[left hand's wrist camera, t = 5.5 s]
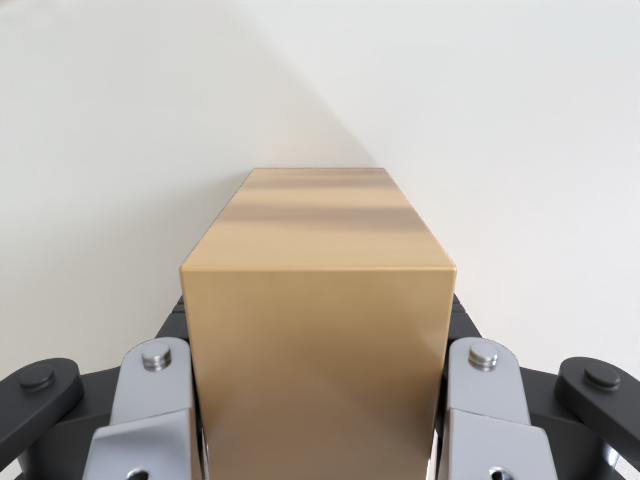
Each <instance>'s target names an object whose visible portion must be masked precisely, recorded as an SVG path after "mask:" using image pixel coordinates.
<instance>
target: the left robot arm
mask: <svg viewBox="0 0 640 480" xmlns="http://www.w3.org/2000/svg"><path fill="white" fill-rule="evenodd" d="M435 429H436V432H437V439H436V450H435V465H434V480H626V479H625V478H624V477H623V476H621V475H620V474H619V473H618V472H617V471H616V470H615V469H614V468H615V465H616V463H617V460H618V458H619V455H621V456H622V457H623V458H624V459H625V460H626V461H628V462H629V463H630V464H631V465H632V466H633V467H634V468H635V469H637V470H638V471H639V472H640V381H638V380H637V379H635V378H634V377H632V376H631V375H629V374H628V373H626V372H625V371H623V370H622V369H620V368H618V367H616V366H614V365H612V364H609V363H607V362H604V361H601V360H597V359H593V358H588V357H572V358H568V359H566V360H564V361H563V362H562V363H561V366H560V369H559V373H558V375H555V374H550V373H546V372H541V371H536V370H531V369H527V368H523V367H520V366H519V363H518V360H517V358H516V357H515V355H514V354H513V353H512V352H511V351H510V350H509V349H507V348H506V347H504V346H503V345H501V344H499V343H497V342H494V341H492V340H488V339H484V338H482V336H481V335H480V333H479V332H478V330H477V328H476V327H475V325H474V324H473V322H472V320H471V319H470V317H469V316H468V314H467V313H466V312H465V309H464V308H463V306H462V305H461V304H460V301H459V300H458V298H457V297H456V295H455V293H454V295H453V302H452V309H451V316H450V323H449V331H448V338H447V345H446V352H445V359H444V366H443V373H442V380H441V388H440V395H439V402H438V409H437V416H436V423H435ZM16 458H17V459H18V461H19V464H20V466H21V469H22V473H21V474H20V475H19V476H17V477H16V478H15V479H14V480H206V465H205V450H204V439H203V432H202V422H201V415H200V408H199V401H198V395H197V388H196V381H195V374H194V367H193V361H192V354H191V347H190V340H189V333H188V327H187V320H186V313H185V306H184V299H183V295H182V296H181V298H180V299H179V301H178V303H177V305H176V306H175V307H174V309H173V310H172V313H171V314H170V315H169V317H168V318H167V320H166V321H165V323H164V324H163V326H162V328H161V329H160V331H159V332H158V334H157V335H156V337H155V339H152V340H148V341H146V342H143V343H141V344H139V345H137V346H136V347H134V348H133V349H131V350H130V351H129V352H128V353H127V354H126V355H125V357H124V358H123V360H122V363H121V366H119V367H116V368H112V369H108V370H104V371H99V372H94V373H89V374H85V375H80V372H79V368H78V366H77V364H76V363H75V362H74V361H72V360H70V359H66V358H52V359H46V360H42V361H38V362H35V363H32V364H29V365H27V366H25V367H23V368H21V369H19V370H17V371H15V372H14V373H12V374H11V375H9V376H8V377H6V378H5V379H3V380H2V381H0V472H1V471H2V470H3V469H4V468H6V467H7V466H8V465H9V464H10V463H11V462H12V461H13V460H15V459H16Z"/></svg>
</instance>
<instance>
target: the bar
mask: <svg viewBox="0 0 640 480" xmlns="http://www.w3.org/2000/svg"><path fill="white" fill-rule="evenodd" d="M179 272H180V279H181V286H182V293H183V299H184V306H185V313H186V320H187V327H188V333H189V340H190V347H191V354H192V361H193V367H194V374H195V381H196V388H197V395H198V401H199V408H200V415H201V422H202V429H203V435H204V442H205V449H206V456H207V463H208V469H209V476H210V480H428V473H429V466H430V459H431V452H432V444H433V437H434V430H435V423H436V416H437V409H438V402H439V395H440V388H441V380H442V373H443V366H444V359H445V352H446V345H447V338H448V331H449V323H450V316H451V309H452V302H453V295H454V288H455V281H456V274H457V268H456V265H455V264H454V263H453V261H452V260H451V259H450V257H449V256H448V255H447V253H446V252H445V250H444V249H443V248H442V246H441V245H440V244H439V242H438V241H437V240H436V238H435V237H434V235H433V234H432V233H431V231H430V230H429V229H428V227H427V226H426V225H425V223H424V222H423V220H422V219H421V218H420V216H419V215H418V214H417V212H416V211H415V210H414V208H413V207H412V205H411V204H410V203H409V201H408V200H407V199H406V197H405V196H404V195H403V193H402V192H401V190H400V189H399V188H398V186H397V185H396V184H395V182H394V181H393V180H392V178H391V177H390V175H389V174H388V173H387V171H386V170H385V169H384V168H255V169H253V170H252V172H251V173H250V174H249V176H248V177H247V178H246V180H245V181H244V182H243V184H242V185H241V186H240V188H239V189H238V190H237V192H236V193H235V194H234V196H233V197H232V198H231V200H230V201H229V202H228V204H227V205H226V206H225V208H224V209H223V210H222V212H221V213H220V214H219V216H218V217H217V218H216V220H215V221H214V222H213V224H212V225H211V226H210V227H209V229H208V230H207V231H206V233H205V234H204V235H203V237H202V238H201V239H200V241H199V242H198V243H197V245H196V246H195V247H194V249H193V250H192V251H191V253H190V254H189V255H188V257H187V258H186V259H185V261H184V262H183V263H182V265H181V266H180V269H179Z"/></svg>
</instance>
